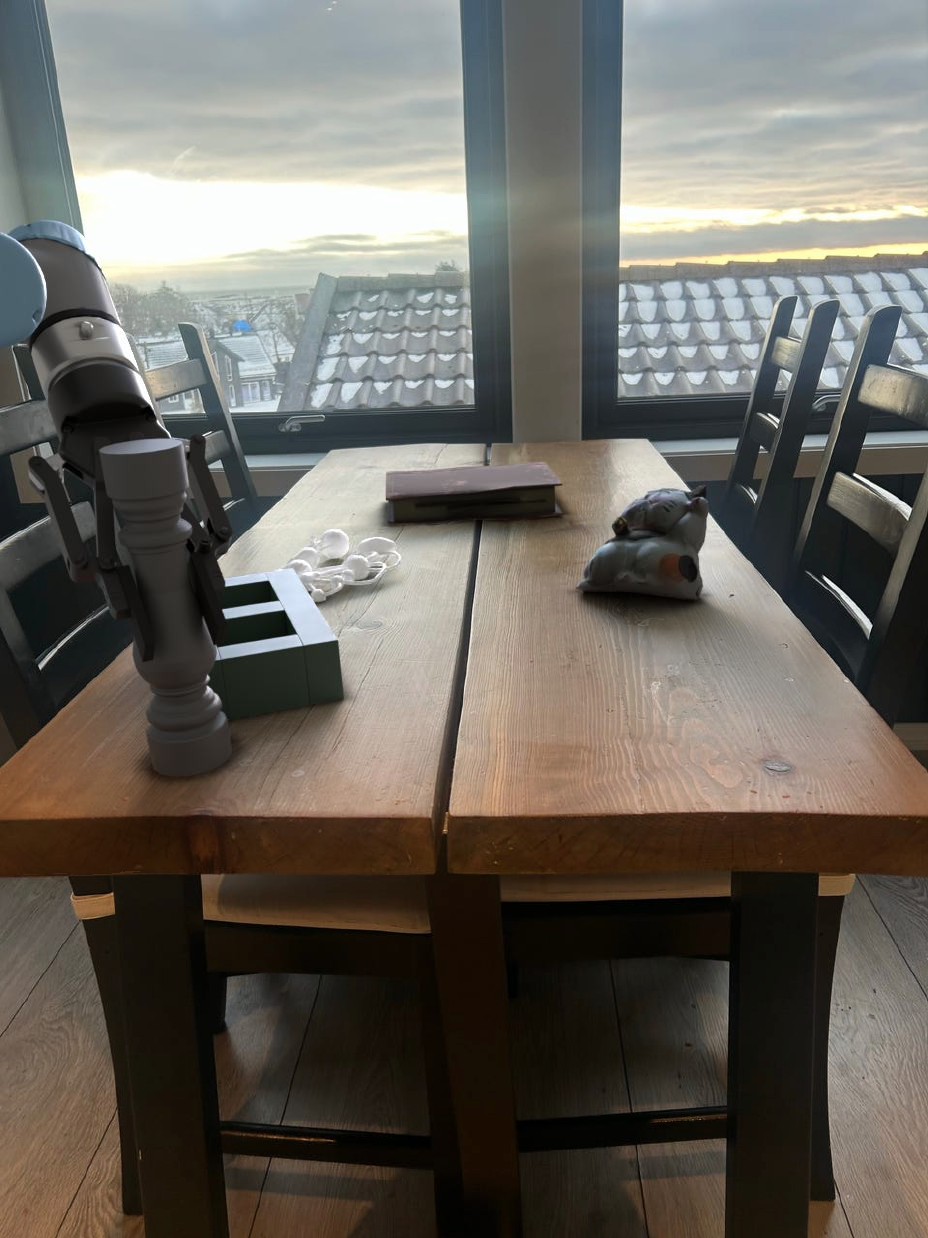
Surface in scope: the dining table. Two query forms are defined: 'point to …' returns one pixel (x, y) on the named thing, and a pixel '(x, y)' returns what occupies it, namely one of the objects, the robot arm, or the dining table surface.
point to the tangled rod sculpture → (351, 568)
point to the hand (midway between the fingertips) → (185, 643)
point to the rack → (273, 647)
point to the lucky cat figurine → (653, 547)
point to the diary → (472, 494)
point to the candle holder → (168, 606)
